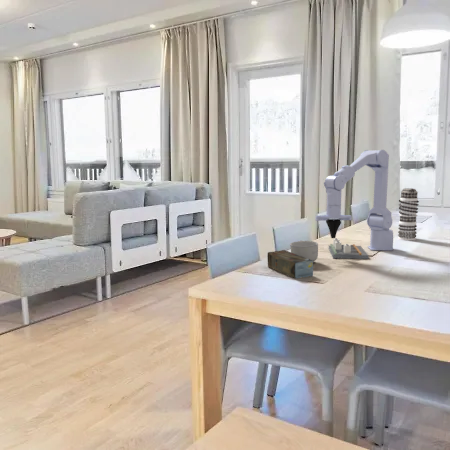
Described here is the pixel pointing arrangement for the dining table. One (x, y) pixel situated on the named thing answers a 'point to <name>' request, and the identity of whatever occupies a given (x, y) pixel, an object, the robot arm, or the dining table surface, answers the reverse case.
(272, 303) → the dining table surface
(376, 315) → the dining table surface
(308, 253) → the teacup
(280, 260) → the beverage carton
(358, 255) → the panel
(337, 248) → the breaker
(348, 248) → the breaker
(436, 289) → the dining table surface
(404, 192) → the decorative candle
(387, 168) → the robot arm
